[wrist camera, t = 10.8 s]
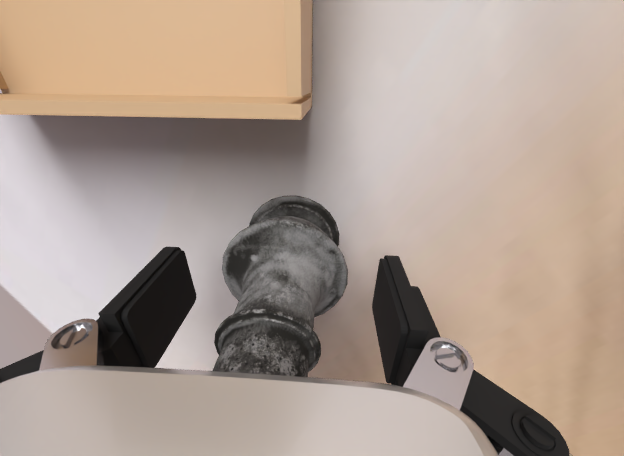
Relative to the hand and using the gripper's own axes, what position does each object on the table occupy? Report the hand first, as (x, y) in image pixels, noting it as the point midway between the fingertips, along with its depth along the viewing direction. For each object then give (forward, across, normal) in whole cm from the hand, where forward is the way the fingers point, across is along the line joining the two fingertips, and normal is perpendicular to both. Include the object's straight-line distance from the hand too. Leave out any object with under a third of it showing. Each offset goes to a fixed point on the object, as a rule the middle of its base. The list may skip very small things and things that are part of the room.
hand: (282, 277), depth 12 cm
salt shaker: (+4, 0, 0) cm, 4 cm away
